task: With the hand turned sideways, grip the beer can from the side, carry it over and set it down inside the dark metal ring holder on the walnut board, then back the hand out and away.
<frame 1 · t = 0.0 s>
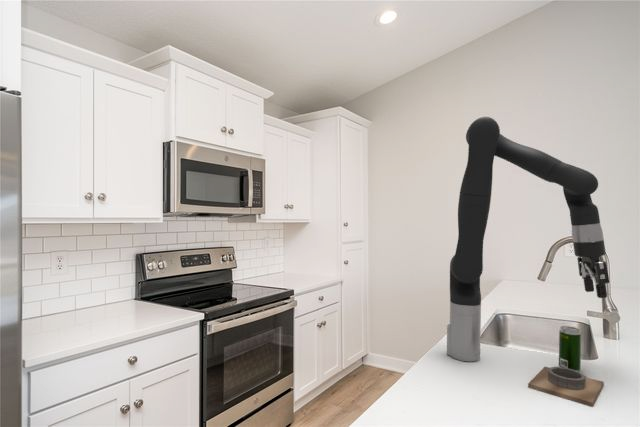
hand: (595, 294, 112), 22 cm above the table, tool pointing down, fingers open, 8 cm apart
can holder: (566, 386, 101), on the table
beer can: (569, 369, 113), on the table
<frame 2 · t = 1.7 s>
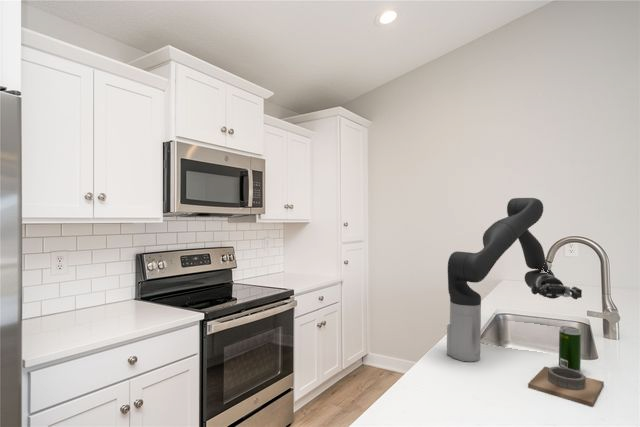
hand: (560, 295, 123), 20 cm above the table, tool horizontal, fingers open, 8 cm apart
nothing on the table moved.
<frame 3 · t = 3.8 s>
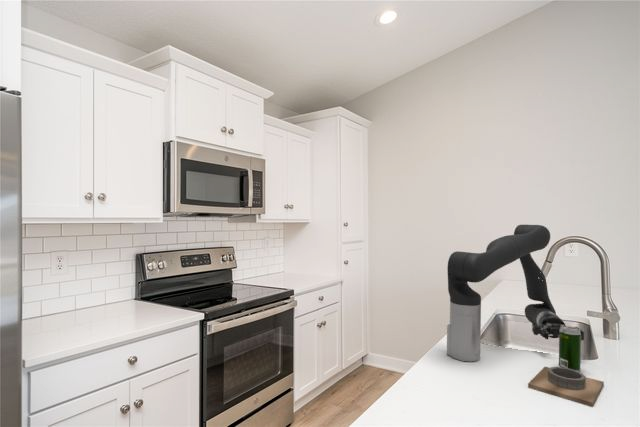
hand: (562, 337, 120), 7 cm above the table, tool horizontal, fingers open, 8 cm apart
nothing on the table moved.
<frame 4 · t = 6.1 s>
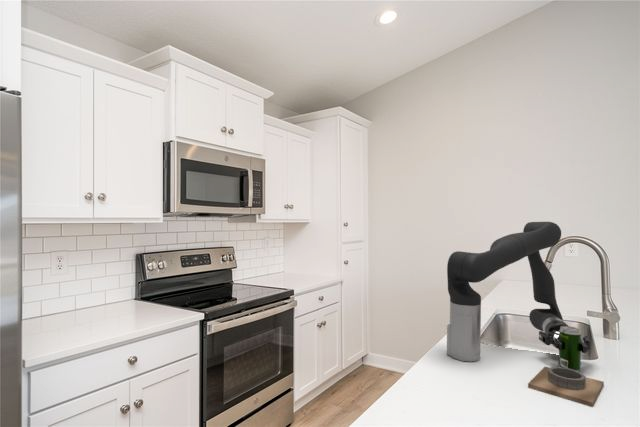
hand: (572, 348, 110), 7 cm above the table, tool horizontal, fingers closed on beer can, 5 cm apart
beer can: (569, 369, 113), on the table, touching gripper
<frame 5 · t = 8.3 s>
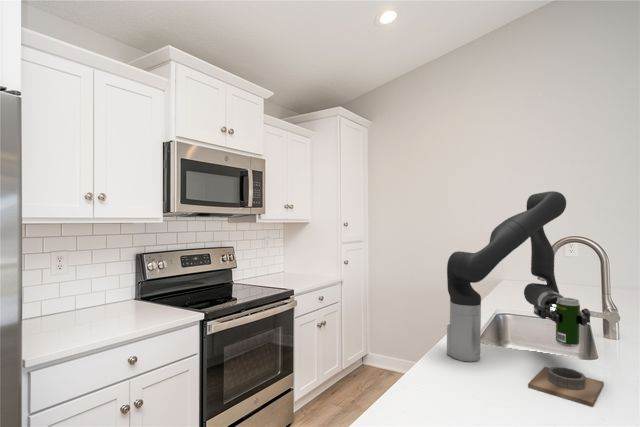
hand: (570, 320, 100), 18 cm above the table, tool horizontal, fingers closed on beer can, 5 cm apart
beer can: (567, 344, 103), point 11 cm above the table, touching gripper
when the fingers open (10 cm above the table, at t = 10.5 s): beer can drops 1 cm, resting on can holder.
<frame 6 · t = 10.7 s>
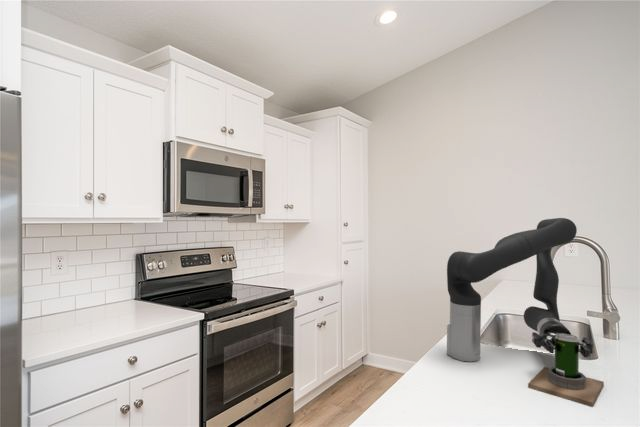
hand: (569, 351, 99), 10 cm above the table, tool horizontal, fingers open, 7 cm apart
beer can: (566, 382, 101), point 1 cm above the table, touching can holder
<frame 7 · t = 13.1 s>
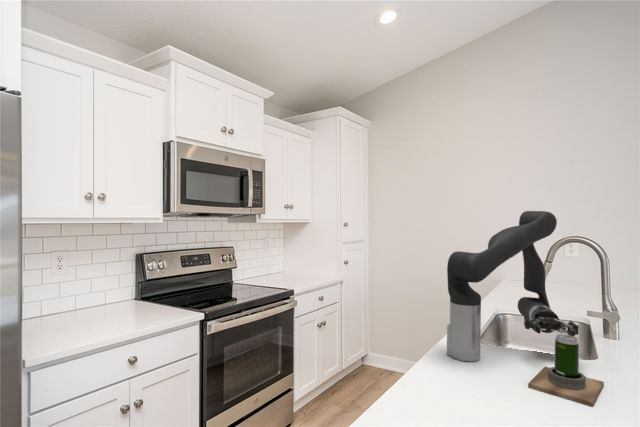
hand: (555, 332, 112), 11 cm above the table, tool horizontal, fingers open, 8 cm apart
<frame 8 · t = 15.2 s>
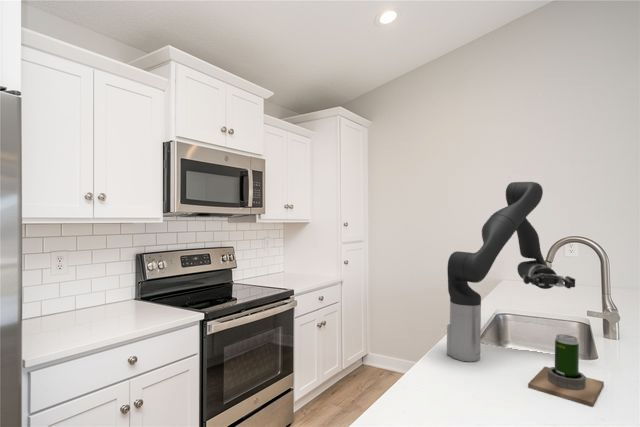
hand: (553, 284, 119), 24 cm above the table, tool horizontal, fingers open, 8 cm apart
nothing on the table moved.
at the end: beer can 0.1 cm off-centre on the can holder, point 0.8 cm above the can holder's base; beer can tilted 0°; the gripper is holding nothing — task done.
